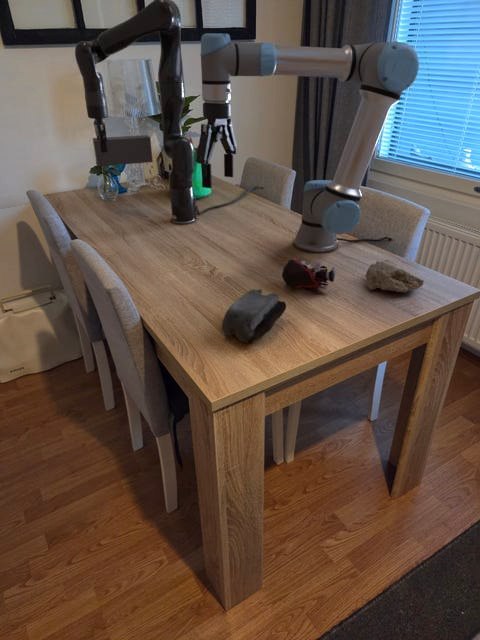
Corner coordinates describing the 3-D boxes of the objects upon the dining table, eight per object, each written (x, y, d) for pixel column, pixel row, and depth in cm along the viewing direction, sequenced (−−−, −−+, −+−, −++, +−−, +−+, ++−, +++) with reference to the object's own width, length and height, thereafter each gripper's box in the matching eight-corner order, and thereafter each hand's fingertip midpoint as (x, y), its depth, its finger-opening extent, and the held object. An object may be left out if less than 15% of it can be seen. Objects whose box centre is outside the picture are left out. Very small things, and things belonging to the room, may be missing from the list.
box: (97, 166, 175) (93, 140, 170) (96, 163, 180) (92, 138, 175) (152, 162, 182) (150, 137, 177) (150, 159, 187) (147, 135, 182)
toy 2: (334, 253, 124) (283, 248, 130) (327, 283, 122) (275, 277, 127) (338, 272, 135) (291, 267, 140) (332, 300, 132) (284, 294, 138)
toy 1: (167, 190, 223) (163, 137, 210) (207, 188, 227) (205, 135, 214) (172, 202, 206) (167, 145, 193) (214, 199, 210) (213, 143, 197)
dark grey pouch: (257, 354, 105) (257, 326, 101) (216, 341, 109) (215, 314, 105) (287, 319, 119) (289, 292, 114) (250, 308, 123) (250, 283, 119)
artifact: (384, 303, 127) (425, 296, 132) (391, 281, 123) (434, 275, 127) (349, 272, 141) (388, 267, 145) (355, 251, 136) (395, 247, 141)
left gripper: (109, 105, 163) (115, 153, 172) (103, 101, 174) (110, 147, 183) (88, 106, 160) (95, 155, 169) (84, 102, 172) (91, 148, 180)
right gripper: (205, 107, 108) (208, 194, 119) (248, 98, 127) (247, 173, 138) (179, 105, 111) (184, 190, 122) (225, 97, 130) (226, 171, 141)
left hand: (103, 150), depth 176 cm, fingers closed on box, 6 cm apart
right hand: (218, 182), depth 130 cm, fingers open, 13 cm apart
